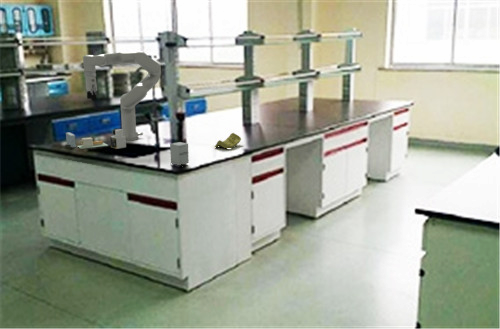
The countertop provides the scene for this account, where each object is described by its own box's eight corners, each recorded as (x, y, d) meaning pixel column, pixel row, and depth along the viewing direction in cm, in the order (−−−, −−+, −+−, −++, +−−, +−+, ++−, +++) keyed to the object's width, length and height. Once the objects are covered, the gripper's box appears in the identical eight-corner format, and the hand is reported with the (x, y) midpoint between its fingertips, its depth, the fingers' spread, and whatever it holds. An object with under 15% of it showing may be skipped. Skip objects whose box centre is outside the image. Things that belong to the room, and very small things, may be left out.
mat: (103, 143, 363) (103, 142, 363) (108, 145, 356) (108, 145, 356) (76, 146, 354) (76, 145, 354) (80, 148, 346) (80, 148, 346)
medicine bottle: (110, 147, 351) (109, 129, 348) (120, 145, 356) (119, 127, 353) (116, 149, 346) (115, 130, 343) (126, 147, 351) (125, 129, 348)
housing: (70, 143, 362) (69, 132, 360) (75, 147, 352) (74, 135, 350) (66, 144, 360) (65, 132, 358) (72, 147, 351) (71, 135, 349)
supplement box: (179, 167, 300) (178, 145, 297) (170, 165, 305) (169, 143, 302) (189, 165, 305) (188, 143, 302) (180, 163, 310) (179, 141, 307)
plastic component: (230, 146, 343) (217, 139, 345) (226, 156, 346) (213, 148, 348) (243, 138, 360) (231, 131, 362) (239, 148, 363) (227, 140, 365)
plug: (101, 143, 360) (100, 136, 359) (103, 144, 357) (103, 137, 356) (80, 146, 353) (80, 138, 352) (82, 147, 349) (82, 139, 348)
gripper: (99, 74, 356) (101, 100, 360) (91, 72, 370) (93, 97, 374) (88, 75, 352) (90, 101, 356) (80, 73, 366) (82, 98, 370)
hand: (91, 99), depth 365 cm, fingers open, 9 cm apart
